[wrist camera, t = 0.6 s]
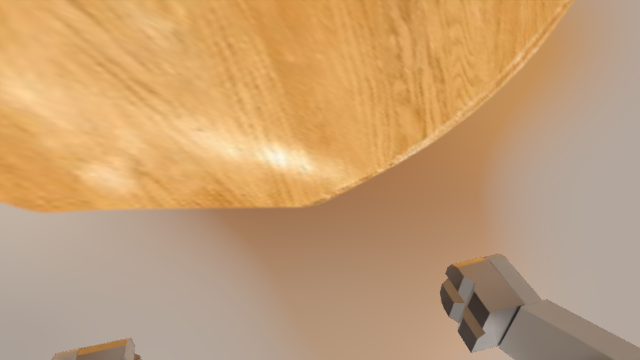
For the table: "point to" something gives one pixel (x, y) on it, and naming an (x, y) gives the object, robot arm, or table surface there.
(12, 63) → the table surface
